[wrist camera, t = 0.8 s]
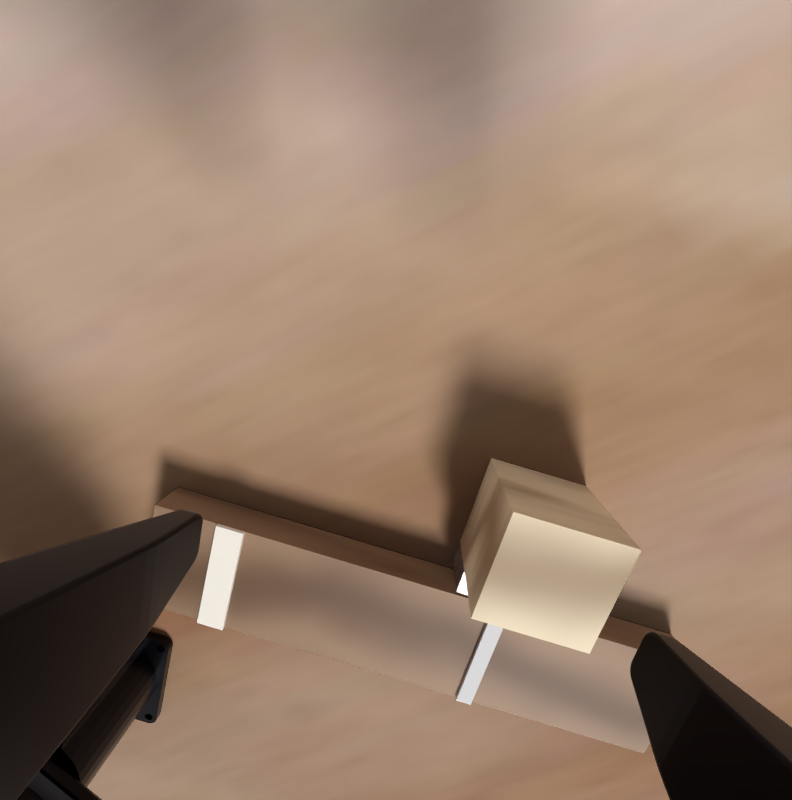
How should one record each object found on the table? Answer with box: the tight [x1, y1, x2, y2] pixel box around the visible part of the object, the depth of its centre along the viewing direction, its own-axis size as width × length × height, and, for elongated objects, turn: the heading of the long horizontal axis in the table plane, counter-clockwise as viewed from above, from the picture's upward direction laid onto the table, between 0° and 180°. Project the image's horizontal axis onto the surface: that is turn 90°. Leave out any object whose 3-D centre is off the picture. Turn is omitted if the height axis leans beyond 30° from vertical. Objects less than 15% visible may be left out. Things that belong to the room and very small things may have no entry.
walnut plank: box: [153, 487, 674, 753], centre depth 22 cm, size 6×28×2 cm, turn 74°
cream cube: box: [453, 458, 641, 654], centre depth 19 cm, size 6×5×6 cm
